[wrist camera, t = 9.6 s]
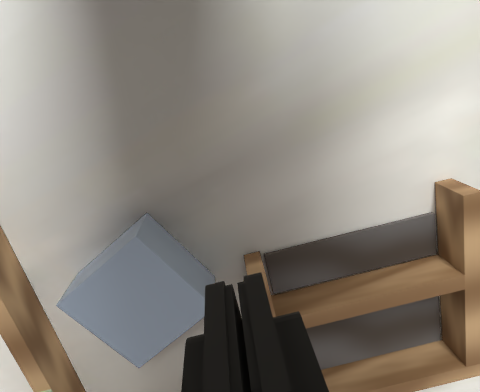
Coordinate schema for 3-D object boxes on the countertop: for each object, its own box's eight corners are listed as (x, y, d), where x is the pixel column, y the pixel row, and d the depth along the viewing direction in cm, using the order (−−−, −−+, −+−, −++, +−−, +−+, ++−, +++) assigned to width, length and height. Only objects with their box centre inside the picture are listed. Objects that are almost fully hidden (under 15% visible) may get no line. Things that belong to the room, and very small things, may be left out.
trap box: (-64, 155, 22) (-161, 183, 16) (447, 28, 22) (529, 11, 16) (90, 440, 31) (63, 523, 25) (456, 350, 30) (511, 413, 25)
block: (78, 271, 26) (55, 305, 22) (147, 211, 24) (135, 236, 21) (148, 328, 28) (138, 368, 24) (215, 274, 26) (215, 308, 23)
